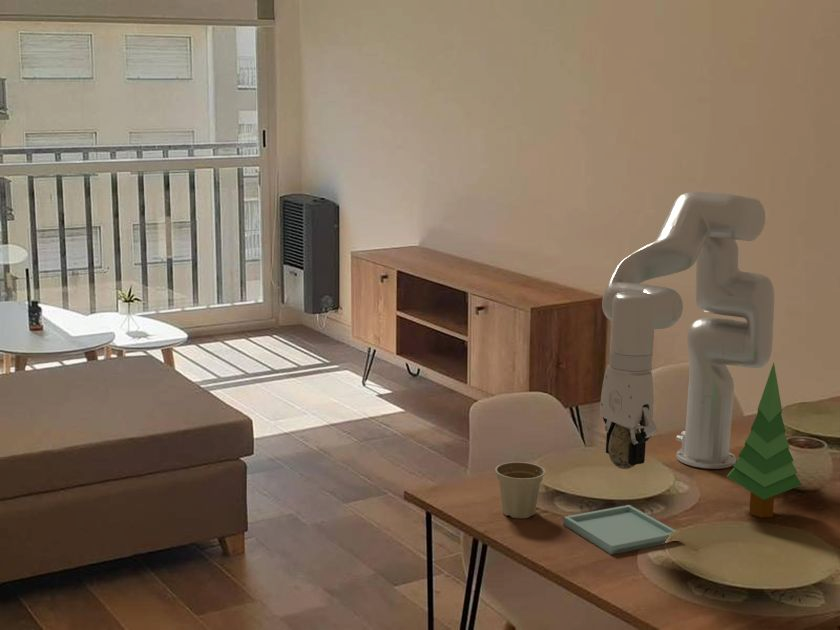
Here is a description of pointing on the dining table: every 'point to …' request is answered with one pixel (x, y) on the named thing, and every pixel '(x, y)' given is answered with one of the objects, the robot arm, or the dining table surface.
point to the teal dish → (619, 529)
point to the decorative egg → (620, 446)
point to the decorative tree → (766, 455)
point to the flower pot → (519, 487)
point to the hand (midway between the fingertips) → (624, 457)
